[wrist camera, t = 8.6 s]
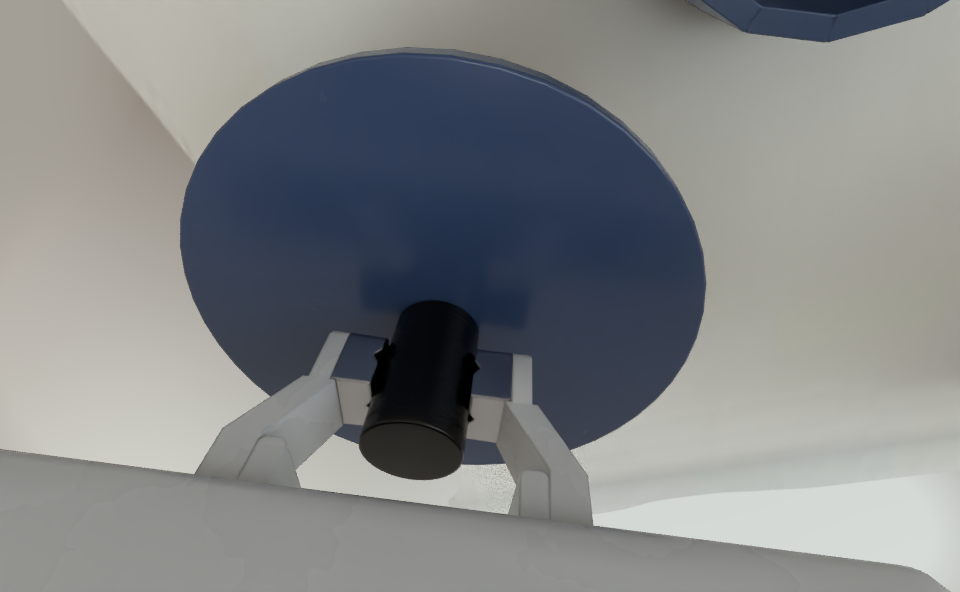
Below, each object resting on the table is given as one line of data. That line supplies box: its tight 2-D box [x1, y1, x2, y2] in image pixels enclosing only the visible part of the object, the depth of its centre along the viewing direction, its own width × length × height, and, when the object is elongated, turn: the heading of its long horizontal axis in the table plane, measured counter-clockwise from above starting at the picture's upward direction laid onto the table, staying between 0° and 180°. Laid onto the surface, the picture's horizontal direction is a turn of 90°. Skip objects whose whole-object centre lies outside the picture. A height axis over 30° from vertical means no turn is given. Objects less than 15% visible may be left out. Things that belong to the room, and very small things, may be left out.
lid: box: [180, 47, 706, 480], centre depth 12 cm, size 15×15×5 cm
